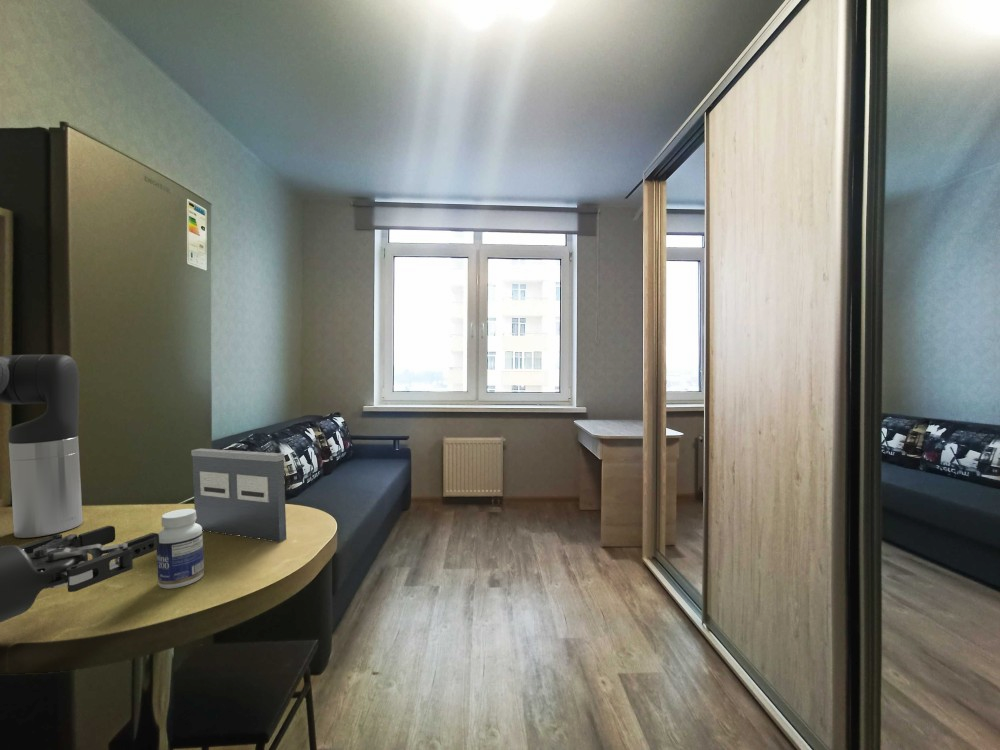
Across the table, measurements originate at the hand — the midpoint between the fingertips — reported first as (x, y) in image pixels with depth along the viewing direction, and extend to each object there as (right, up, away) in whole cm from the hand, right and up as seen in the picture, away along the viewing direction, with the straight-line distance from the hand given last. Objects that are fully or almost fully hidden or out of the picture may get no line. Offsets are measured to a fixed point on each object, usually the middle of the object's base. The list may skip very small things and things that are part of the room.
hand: (134, 536), depth 59 cm
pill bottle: (+3, -8, +5) cm, 10 cm away
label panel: (+1, -7, +22) cm, 23 cm away
